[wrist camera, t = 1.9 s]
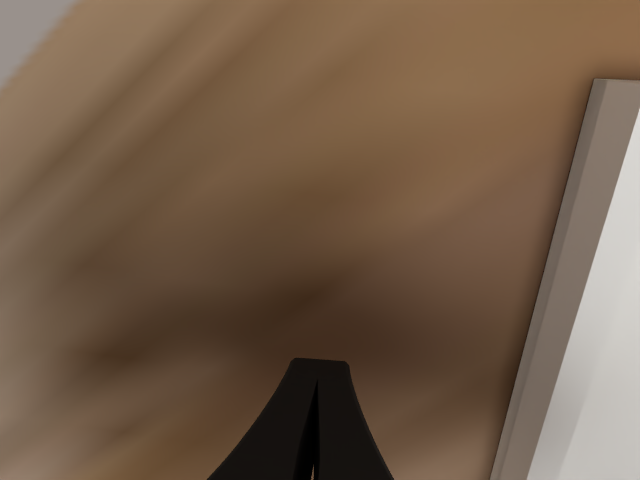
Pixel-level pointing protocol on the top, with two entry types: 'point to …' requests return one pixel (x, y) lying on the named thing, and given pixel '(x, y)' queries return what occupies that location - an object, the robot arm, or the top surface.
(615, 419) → the tray
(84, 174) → the top surface
